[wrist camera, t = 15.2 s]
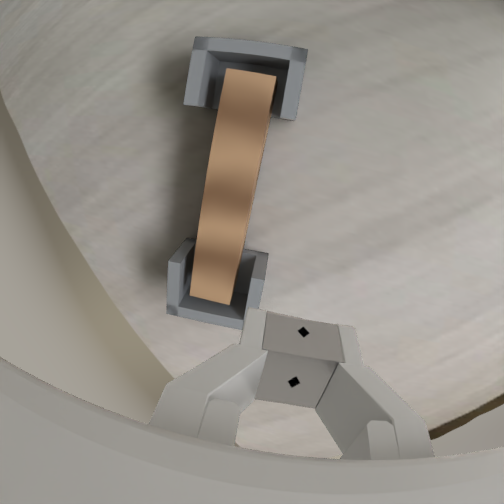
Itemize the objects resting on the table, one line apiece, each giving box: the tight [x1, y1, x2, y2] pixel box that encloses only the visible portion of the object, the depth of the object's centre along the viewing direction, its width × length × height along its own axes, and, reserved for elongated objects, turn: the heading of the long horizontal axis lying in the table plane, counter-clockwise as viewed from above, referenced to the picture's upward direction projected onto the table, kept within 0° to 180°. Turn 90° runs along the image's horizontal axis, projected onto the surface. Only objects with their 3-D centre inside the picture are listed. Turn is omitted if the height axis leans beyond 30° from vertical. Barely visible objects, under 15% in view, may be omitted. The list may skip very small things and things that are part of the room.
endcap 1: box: [183, 37, 308, 121], centre depth 25 cm, size 6×9×6 cm, turn 81°
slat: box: [190, 68, 278, 305], centre depth 28 cm, size 21×4×4 cm, turn 169°
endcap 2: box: [167, 238, 268, 330], centre depth 33 cm, size 6×9×6 cm, turn 81°
